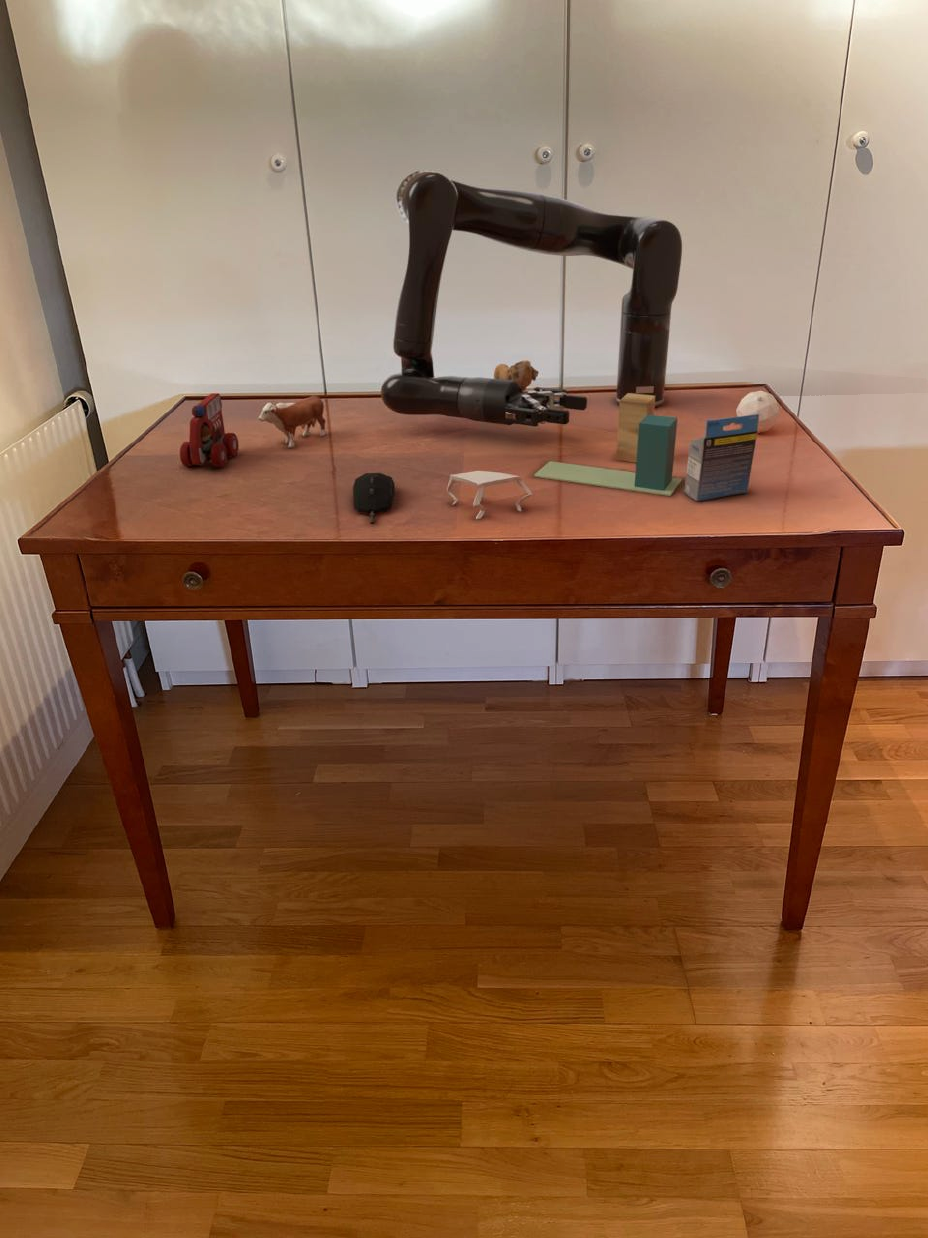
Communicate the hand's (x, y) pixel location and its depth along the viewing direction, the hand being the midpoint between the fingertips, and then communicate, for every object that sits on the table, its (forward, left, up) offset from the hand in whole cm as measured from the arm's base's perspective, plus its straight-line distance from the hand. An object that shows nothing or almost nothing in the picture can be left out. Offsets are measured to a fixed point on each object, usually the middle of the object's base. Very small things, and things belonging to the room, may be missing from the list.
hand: (577, 410), depth 148 cm
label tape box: (+11, +26, -7) cm, 29 cm away
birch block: (0, +10, -7) cm, 12 cm away
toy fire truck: (+28, -56, -7) cm, 63 cm away
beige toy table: (+29, -3, -7) cm, 30 cm away
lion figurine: (-23, -22, -7) cm, 33 cm away
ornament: (-21, +26, -7) cm, 34 cm away
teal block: (+11, +16, -7) cm, 21 cm away
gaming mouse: (+34, -20, -7) cm, 40 cm away
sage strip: (+11, +9, -7) cm, 16 cm away
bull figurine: (+14, -48, -7) cm, 50 cm away
